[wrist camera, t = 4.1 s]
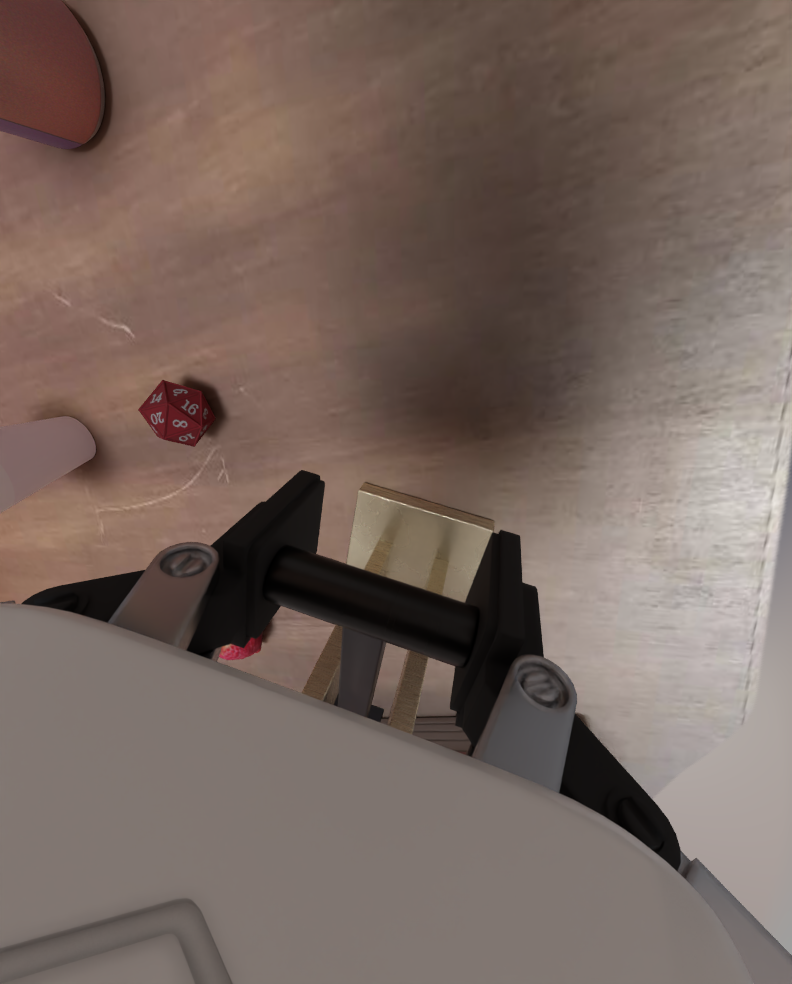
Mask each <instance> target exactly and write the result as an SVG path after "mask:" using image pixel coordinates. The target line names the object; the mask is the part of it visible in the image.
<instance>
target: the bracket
mask: <svg viewBox="0 0 792 984" xmlns="http://www.w3.org/2000/svg"><path fill="white" fill-rule="evenodd" d="M493 532H494V521H492V520H488V519H485V518H482V517H478V516H475V515H472V514H468V513H465V512H462V511H458V510H455V509H452V508H448V507H445V506H441V505H438V504H435V503H431V502H428V501H425V500H421V499H418V498H415V497H411V496H408V495H405V494H401V493H398V492H395V491H391V490H388V489H385V488H381V487H378V486H375V485H371V484H368V483H363V485H362V486H361V488H360V489H359V491H358V497H357V503H356V508H355V514H354V520H353V526H352V532H351V538H350V544H349V550H348V556H347V562H346V564H348V565H351V566H354V567H357V568H361V569H364V570H367V571H370V572H373V573H376V574H379V575H382V576H385V577H388V578H391V579H394V580H397V581H400V582H403V583H406V584H409V585H413V586H416V587H419V588H422V589H425V590H428V591H431V592H434V593H437V594H440V595H443V596H446V597H449V598H452V599H455V600H458V601H461V602H465V601H466V598H467V595H468V593H469V590H470V588H471V585H472V582H473V580H474V577H475V575H476V572H477V570H478V567H479V564H480V562H481V559H482V557H483V554H484V552H485V549H486V546H487V544H488V541H489V539H490V536H491V534H492V533H493ZM341 644H342V627H341V626H338V625H336V626H335V628H334V630H333V632H332V634H331V636H330V638H329V640H328V641H327V643H326V645H325V647H324V649H323V651H322V653H321V655H320V657H319V659H318V661H317V663H316V665H315V667H314V669H313V671H312V673H311V675H310V677H309V679H308V681H307V683H306V685H305V687H304V689H303V691H302V694H305V695H308V696H310V697H313V698H316V699H319V700H321V701H324V702H327V703H329V704H332V705H334V702H335V700H336V697H337V695H338V692H339V676H340V660H341ZM428 659H429V657H427V656H424V655H421V654H419V653H416V652H413V651H410V650H408V651H407V654H406V658H405V661H404V665H403V669H402V672H401V676H400V680H399V683H398V687H397V691H396V694H395V698H394V701H393V705H392V709H391V712H390V716H389V720H388V723H387V725H388V726H390V727H393V728H396V729H398V730H401V731H404V732H406V733H409V734H412V733H413V729H414V724H415V719H416V715H417V710H418V705H419V701H420V696H421V691H422V687H423V682H424V677H425V673H426V668H427V663H428Z"/></svg>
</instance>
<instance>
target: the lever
mask: <svg viewBox="0 0 792 984" xmlns="http://www.w3.org/2000/svg"><path fill="white" fill-rule="evenodd" d="M263 596H264V598H265V599H266V600H267V601H269V602H272V603H275V604H277V605H280V606H283V607H286V608H289V609H292V610H295V611H298V612H300V613H303V614H306V615H309V616H312V617H315V618H318V619H321V620H323V621H326V622H329V623H332V624H335V625H338V626H341V627H342V644H341V660H340V676H339V692H338V695H337V697H336V700H335V702H334V705H335V706H337V707H340V708H343V709H345V710H348V711H351V712H353V713H356V714H359V715H361V716H364V717H367V718H369V719H372V720H375V721H377V722H381V719H382V715H383V712H384V709H382V708H379V707H377V706H374V705H371V704H372V700H373V696H374V692H375V687H376V683H377V679H378V675H379V671H380V667H381V662H382V658H383V654H384V650H385V646H386V642H387V643H390V644H393V645H395V646H398V647H401V648H404V649H407V650H410V651H413V652H416V653H419V654H421V655H424V656H427V657H430V658H433V659H436V660H439V661H442V662H444V663H447V664H450V665H453V666H456V667H459V668H464V667H465V665H466V664H467V662H468V660H469V658H470V655H471V652H472V649H473V646H474V643H475V639H476V634H477V630H478V624H479V608H478V607H476V606H474V605H471V604H468V603H465V602H461V601H458V600H455V599H452V598H449V597H446V596H443V595H440V594H437V593H434V592H431V591H428V590H425V589H422V588H419V587H416V586H413V585H409V584H406V583H403V582H400V581H397V580H394V579H391V578H388V577H385V576H382V575H379V574H376V573H373V572H370V571H367V570H364V569H361V568H357V567H354V566H351V565H348V564H345V563H342V562H339V561H336V560H333V559H330V558H327V557H324V556H321V555H318V554H315V553H312V552H308V551H305V550H302V549H299V548H296V547H293V546H290V545H287V546H284V547H282V548H281V549H280V550H279V551H278V553H277V554H276V555H275V557H274V559H273V560H272V562H271V564H270V566H269V569H268V571H267V574H266V577H265V581H264V586H263Z"/></svg>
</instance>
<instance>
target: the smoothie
mask: <svg viewBox="0 0 792 984" xmlns="http://www.w3.org/2000/svg"><path fill="white" fill-rule="evenodd" d="M95 453H96V445H95V441H94V439H93V437H92V435H91V433H90V432H89V431H88V429H87V428H86V427H85V426H84V425H83V424H82V423H81V422H79V421H78V420H76V419H74V418H72V417H68V416H62V417H56V418H50V419H45V420H39V421H33V422H27V423H21V424H15V425H10V426H4V427H0V513H2V512H4V511H5V510H7V509H9V508H10V507H12V506H13V505H15V504H17V503H18V502H20V501H22V500H23V499H25V498H27V497H28V496H30V495H32V494H33V493H35V492H37V491H38V490H40V489H42V488H43V487H45V486H47V485H48V484H50V483H52V482H53V481H55V480H57V479H58V478H60V477H62V476H63V475H65V474H67V473H68V472H70V471H72V470H73V469H75V468H77V467H79V466H80V465H82V464H84V463H85V462H87V461H89V460H90V459H92V458H93V457H94V456H95Z"/></svg>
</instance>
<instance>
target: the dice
mask: <svg viewBox="0 0 792 984" xmlns="http://www.w3.org/2000/svg"><path fill="white" fill-rule="evenodd" d="M138 410H139V411H140V413H141V414H142V415H143V417H144V418H145V420H146V421H147V423H148V424H149V425H150V427H151V428H152V430H153V431H154V433H155V434H156V435H157V437H159V438H162V439H164V440H168V441H172V442H177V443H181V444H185V445H190V446H194V447H195V445H196V444H197V443H198V441H199V440H200V439H201V437H202V436H203V435H204V433H205V432H206V431H207V429H208V428H209V427H210V426H211V424H212V423H213V422H214V420H215V419H216V418H215V416H214V414H213V413H212V411H211V409H210V407H209V405H208V403H207V401H206V399H205V397H204V395H203V393H202V391H199V390H195V389H192V388H188V387H185V386H181V385H178V384H174V383H171V382H168V381H165V380H162V381H161V383H160V384H159V385H158V386H157V387H156V389H155V390H154V391H153V392H152V394H151V395H150V396H149V397H148V398H147V400H146V401H145V402H144V403H143V405H142V406H141V407H140V408H139V409H138Z"/></svg>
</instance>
